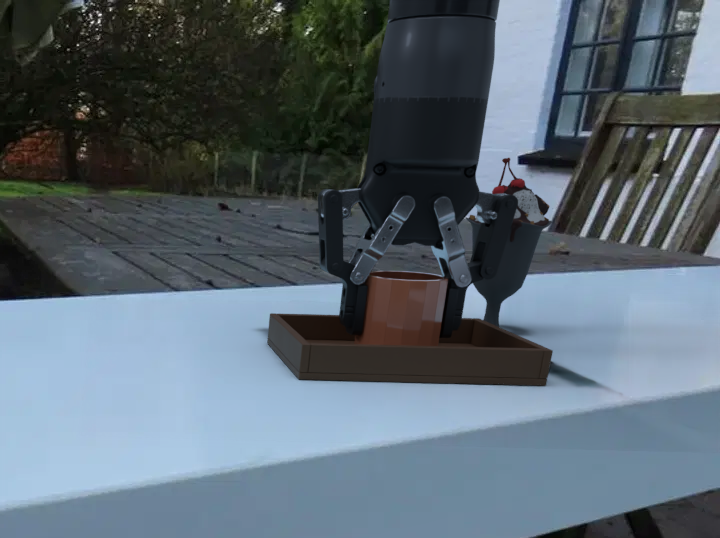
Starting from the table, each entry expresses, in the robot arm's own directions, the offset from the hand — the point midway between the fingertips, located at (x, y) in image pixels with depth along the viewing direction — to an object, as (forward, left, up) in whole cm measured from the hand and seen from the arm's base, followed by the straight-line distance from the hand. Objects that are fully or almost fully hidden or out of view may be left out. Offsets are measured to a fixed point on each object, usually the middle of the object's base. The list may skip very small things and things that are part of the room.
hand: (397, 334), depth 70 cm
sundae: (-11, -10, -2) cm, 15 cm away
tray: (0, 0, -2) cm, 2 cm away
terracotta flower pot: (0, 0, -2) cm, 2 cm away
